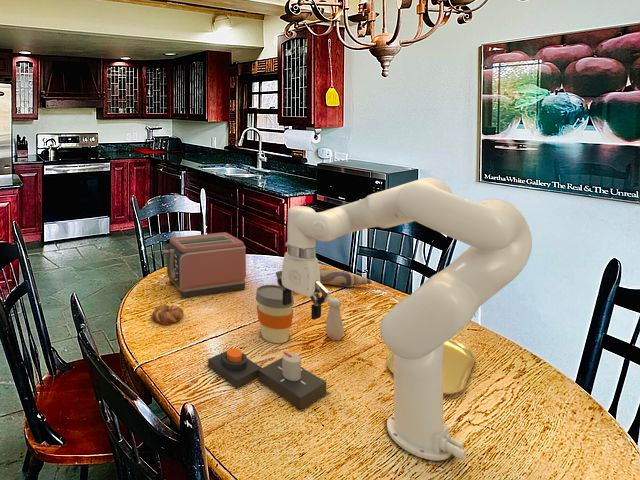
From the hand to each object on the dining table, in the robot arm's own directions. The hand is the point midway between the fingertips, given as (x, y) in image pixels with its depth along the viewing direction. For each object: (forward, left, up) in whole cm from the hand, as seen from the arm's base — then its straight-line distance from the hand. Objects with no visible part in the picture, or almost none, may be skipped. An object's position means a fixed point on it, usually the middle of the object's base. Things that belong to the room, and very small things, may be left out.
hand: (301, 310), depth 112 cm
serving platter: (-17, -38, -20) cm, 46 cm away
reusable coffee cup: (+20, -12, -20) cm, 30 cm away
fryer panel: (0, +5, -19) cm, 20 cm away
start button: (+14, +13, -16) cm, 25 cm away
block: (+14, +13, -19) cm, 27 cm away
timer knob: (0, +5, -16) cm, 17 cm away
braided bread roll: (+51, +11, -20) cm, 55 cm away
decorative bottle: (+32, -68, -20) cm, 78 cm away
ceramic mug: (+41, -48, -20) cm, 66 cm away
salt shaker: (+8, -28, -20) cm, 35 cm away
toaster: (+66, -18, -20) cm, 71 cm away
